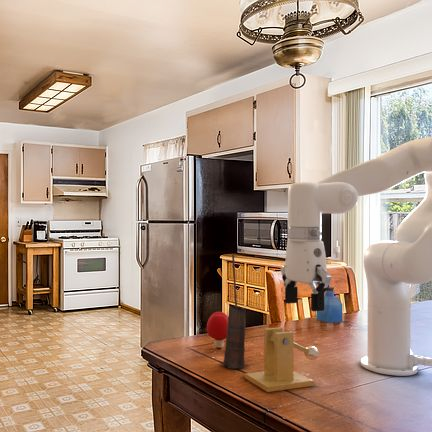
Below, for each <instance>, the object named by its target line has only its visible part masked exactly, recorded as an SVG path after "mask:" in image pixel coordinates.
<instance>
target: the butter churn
mask: <svg viewBox="0 0 432 432" xmlns="http://www.w3.org/2000/svg"><path fill="white" fill-rule="evenodd" d="M231 260H232V276H233V277H232V278H233V291H234V292H233V293H234V306H229V308H228V315H227V316H228V327H227V336H226V339H225V345H224V355H223V366H224V367H227V369H235V370H237V369H240V370H241V369H242V368H244V367H245V351H246V348H245V346H246V345H245V343H246V342H245V341H246V310H247V309H246V308H245V307H242V306H238V300H237V298H238V297H237V295H238V294H237V283H236V265H235V254H231Z"/></svg>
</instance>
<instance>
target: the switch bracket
mask: <svg viewBox="0 0 432 432" xmlns="http://www.w3.org/2000/svg"><path fill="white" fill-rule="evenodd" d="M263 330H264V331H263V332H264V334H263V337H264V342H263V347H264V349H263V350H264V351H263V355H264V356H263V360H264V361H263V365H264V366H263V370H262V371H255V372H247V373H244V376H245V377H244V379H245V380H247V381H248V382H250V383H251V384H253V385H255V386H257V387H258V388H259V389H262V390H263V391H264V392H266V393H272V392H279V391H285V390H286V391H287V390H293V389H299V388H300V389H301V388H307V387H313V386H314V380H313V379H311V378H309V377H307V376H305V375H303V374H301V373H300V372H297V371H295V370H294V367H295V366H294V362H295V361H294V353H295V351H294V349H295V348H294V343H295V341H294V339H295V338H294V337H295V332H293V331H291V330H290V331H284V329H283V327H278V326H277V327H269V328H264V329H263ZM273 330H274V331H277V332H279V333H275V342H273V341H271V340H270V337H271V335H272V332H273Z"/></svg>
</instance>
